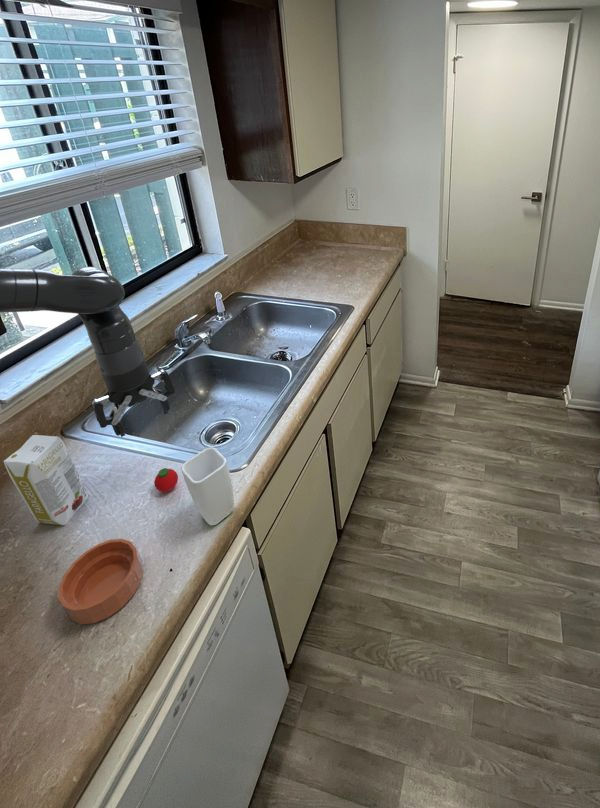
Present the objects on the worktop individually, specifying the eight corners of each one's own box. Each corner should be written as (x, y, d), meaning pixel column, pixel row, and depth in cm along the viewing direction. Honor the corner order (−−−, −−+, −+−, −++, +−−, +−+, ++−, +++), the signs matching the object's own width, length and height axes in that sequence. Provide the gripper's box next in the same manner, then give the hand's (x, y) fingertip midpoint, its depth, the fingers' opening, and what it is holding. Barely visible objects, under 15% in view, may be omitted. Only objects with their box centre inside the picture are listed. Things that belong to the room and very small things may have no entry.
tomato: (158, 500, 98) (152, 484, 96) (155, 485, 102) (150, 469, 100) (181, 489, 101) (176, 474, 99) (178, 475, 104) (172, 459, 102)
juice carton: (94, 494, 100) (66, 433, 92) (64, 530, 92) (30, 467, 84) (64, 491, 101) (33, 430, 92) (32, 527, 93) (-5, 464, 85)
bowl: (67, 642, 74) (57, 626, 72) (68, 578, 84) (59, 562, 82) (147, 597, 81) (140, 581, 78) (140, 542, 90) (133, 526, 88)
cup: (194, 514, 95) (177, 466, 89) (224, 491, 100) (211, 444, 94) (210, 534, 91) (195, 486, 85) (242, 509, 96) (229, 462, 90)
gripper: (153, 339, 94) (172, 397, 101) (75, 370, 84) (101, 432, 91) (166, 354, 89) (184, 414, 96) (85, 388, 80) (112, 452, 87)
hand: (144, 422), depth 94 cm, fingers open, 8 cm apart
